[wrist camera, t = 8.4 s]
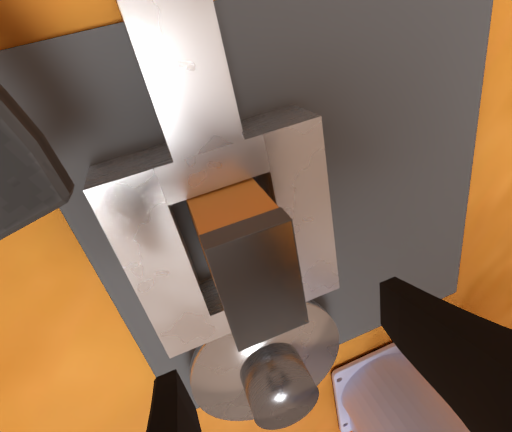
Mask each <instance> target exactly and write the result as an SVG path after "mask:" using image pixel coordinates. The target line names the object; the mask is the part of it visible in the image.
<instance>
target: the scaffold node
mask: <svg viewBox="0 0 512 432" xmlns="http://www.w3.org/2000/svg"><path fill="white" fill-rule="evenodd" d="M116 2H117V5H118V8H119V11H120V14H121V17H122V19H123V22H124V25H125V28H126V31H127V34H128V37H129V39H130V42H131V45H132V48H133V51H134V54H135V56H136V59H137V62H138V65H139V68H140V71H141V74H142V76H143V79H144V82H145V85H146V88H147V91H148V94H149V96H150V99H151V102H152V105H153V108H154V111H155V114H156V116H157V119H158V122H159V125H160V128H161V131H162V134H163V136H164V139H165V143H162V144H158V145H155V146H152V147H149V148H145V149H142V150H139V151H135V152H132V153H129V154H125V155H122V156H119V157H115V158H112V159H109V160H105V161H102V162H99V163H95V164H92V165H89V169H88V173H87V177H86V181H85V185H84V189H83V192H84V194H85V196H86V198H87V199H88V201H89V203H90V205H91V207H92V209H93V211H94V213H95V215H96V217H97V219H98V221H99V223H100V225H101V227H102V228H103V230H104V232H105V234H106V236H107V238H108V240H109V242H110V244H111V246H112V248H113V250H114V252H115V254H116V256H117V258H118V259H119V261H120V263H121V265H122V267H123V269H124V271H125V273H126V275H127V277H128V279H129V281H130V283H131V285H132V287H133V289H134V290H135V292H136V294H137V296H138V298H139V300H140V302H141V304H142V306H143V308H144V310H145V312H146V314H147V316H148V318H149V320H150V321H151V323H152V325H153V327H154V329H155V331H156V333H157V335H158V337H159V339H160V341H161V343H162V345H163V347H164V349H165V351H166V352H167V354H168V356H169V358H172V357H175V356H177V355H180V354H182V353H184V352H187V351H189V350H192V349H194V348H196V349H195V351H194V353H193V356H192V359H191V362H190V367H189V378H190V384H191V389H192V394H193V397H194V399H195V401H196V403H197V404H198V406H199V407H200V408H201V409H202V410H203V411H205V412H206V413H208V414H209V415H212V416H214V417H216V418H220V419H223V420H230V421H244V420H252V419H254V420H255V422H256V424H257V425H258V426H259V427H261V428H263V429H268V430H275V429H281V428H285V427H287V426H290V425H292V424H294V423H296V422H298V421H299V420H301V419H302V418H303V417H305V416H306V415H307V414H308V413H309V412H310V411H311V410H312V409H313V407H314V406H315V404H316V402H317V400H318V397H319V391H318V388H317V385H318V384H319V383H320V382H321V381H322V380H323V379H324V377H325V376H326V375H327V373H328V372H329V370H330V369H331V367H332V365H333V363H334V361H335V359H336V356H337V353H338V349H339V332H338V329H337V326H336V324H335V322H334V321H333V319H332V318H331V317H330V315H329V314H328V313H327V311H326V310H325V309H324V308H323V307H322V306H321V305H320V304H318V303H317V302H315V301H313V300H312V299H314V298H317V297H319V296H321V295H324V294H326V293H329V292H331V291H333V290H336V289H338V288H340V287H339V277H338V268H337V258H336V249H335V239H334V230H333V221H332V211H331V202H330V192H329V183H328V174H327V164H326V155H325V145H324V136H323V126H322V117H321V116H320V115H318V114H315V113H313V112H311V111H308V110H306V109H303V108H301V107H299V106H296V105H294V104H291V105H288V106H285V107H281V108H278V109H275V110H271V111H268V112H265V113H261V114H258V115H255V116H251V117H248V118H245V119H241V120H240V117H239V112H238V108H237V104H236V99H235V95H234V90H233V86H232V82H231V77H230V73H229V69H228V64H227V60H226V55H225V51H224V47H223V42H222V38H221V33H220V29H219V25H218V20H217V16H216V11H215V7H214V3H213V0H116ZM252 177H255V179H256V182H257V184H258V185H259V186H260V187H261V188H262V189H263V190H264V191H265V192H266V194H267V195H268V196H269V197H270V198H271V199H272V200H273V201H274V202H275V204H276V205H277V206H278V207H282V209H283V210H284V211H285V212H286V213H287V214H288V215H289V216H290V217H291V218H292V221H293V227H294V233H295V239H296V245H297V252H298V258H299V264H300V270H301V276H302V282H303V288H304V295H305V301H306V307H307V313H308V319H309V323H307V324H305V325H302V326H300V327H297V328H295V329H293V330H290V331H288V332H285V333H283V334H281V335H278V336H276V337H274V338H271V339H269V340H266V341H264V342H262V343H259V344H257V345H254V346H252V347H250V348H247V349H245V350H243V351H240V352H238V350H237V347H236V344H235V341H234V339H233V336H232V333H231V330H230V327H229V324H228V321H227V318H226V315H225V312H224V309H223V306H222V303H221V300H220V297H219V294H218V292H217V289H216V286H215V283H214V281H213V278H212V277H209V278H207V279H204V280H201V281H199V279H198V276H197V273H196V271H195V268H194V266H193V263H192V260H191V258H190V255H189V252H188V250H187V247H186V244H185V242H184V239H183V237H182V234H181V231H180V229H179V226H178V223H177V221H176V218H175V215H174V213H173V210H172V208H171V205H172V204H175V203H178V202H181V201H184V200H187V199H190V198H193V197H196V196H199V195H202V194H205V193H208V192H211V191H214V190H217V189H220V188H223V187H226V186H229V185H232V184H235V183H237V182H240V181H243V180H246V179H249V178H252Z"/></svg>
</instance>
